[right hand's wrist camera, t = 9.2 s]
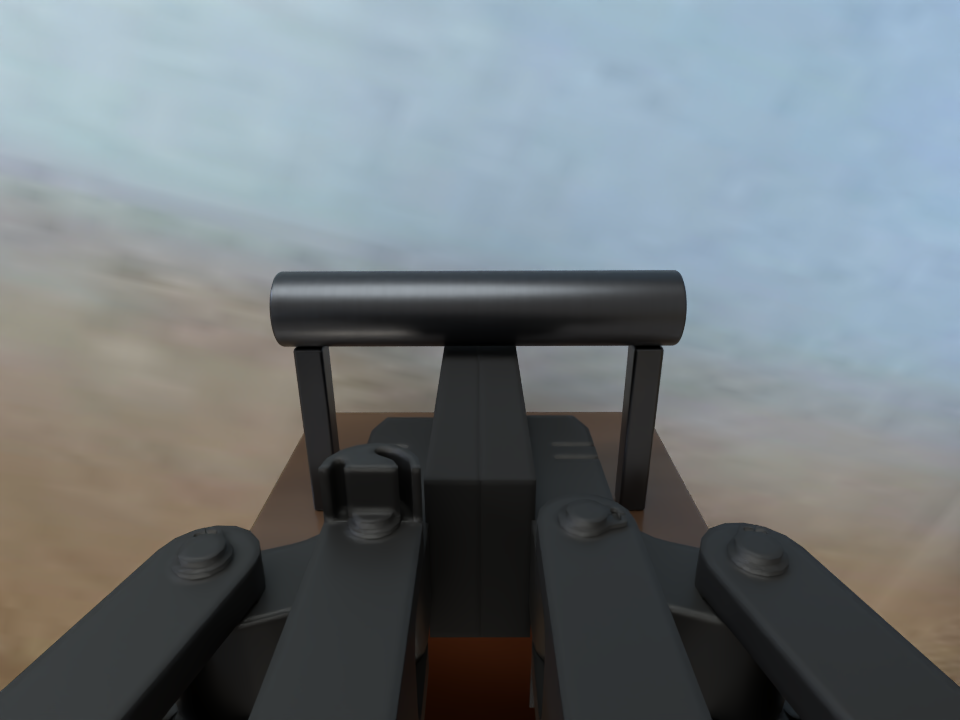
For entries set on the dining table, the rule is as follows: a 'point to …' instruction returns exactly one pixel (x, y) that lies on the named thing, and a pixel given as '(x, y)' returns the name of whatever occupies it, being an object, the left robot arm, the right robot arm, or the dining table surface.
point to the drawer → (526, 322)
